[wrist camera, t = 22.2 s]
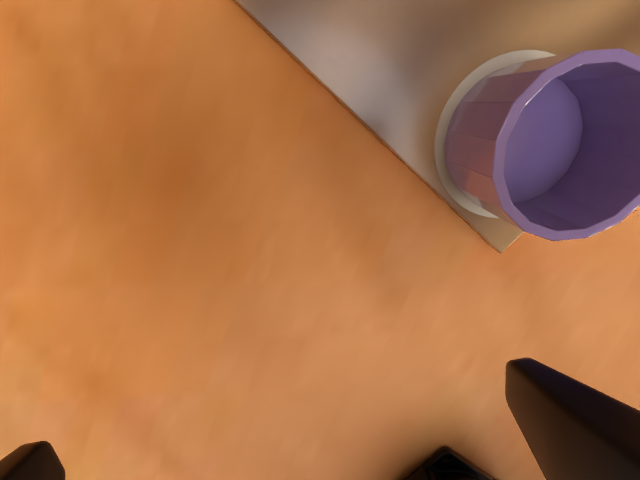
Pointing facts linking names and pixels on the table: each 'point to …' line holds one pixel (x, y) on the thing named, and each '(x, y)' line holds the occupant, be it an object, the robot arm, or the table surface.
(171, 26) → the table surface
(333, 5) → the placemat
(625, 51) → the dish
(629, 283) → the table surface
